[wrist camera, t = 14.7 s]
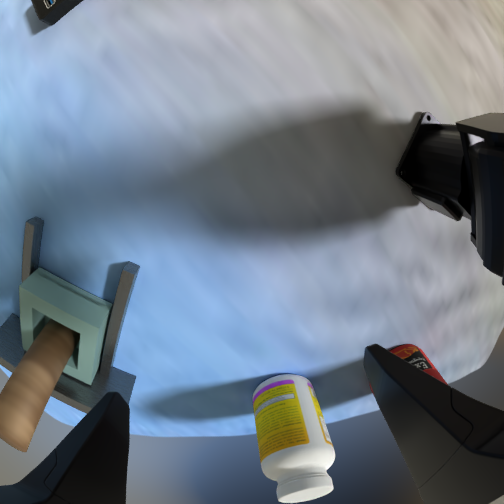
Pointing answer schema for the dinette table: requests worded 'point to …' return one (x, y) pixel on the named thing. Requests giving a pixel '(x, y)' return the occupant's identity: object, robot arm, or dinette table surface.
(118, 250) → the dinette table surface
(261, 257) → the dinette table surface
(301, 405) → the supplement bottle
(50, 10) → the multiport hub
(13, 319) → the rail and backstop frame
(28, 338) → the sliding socket block
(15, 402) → the walnut dowel
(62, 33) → the dinette table surface
